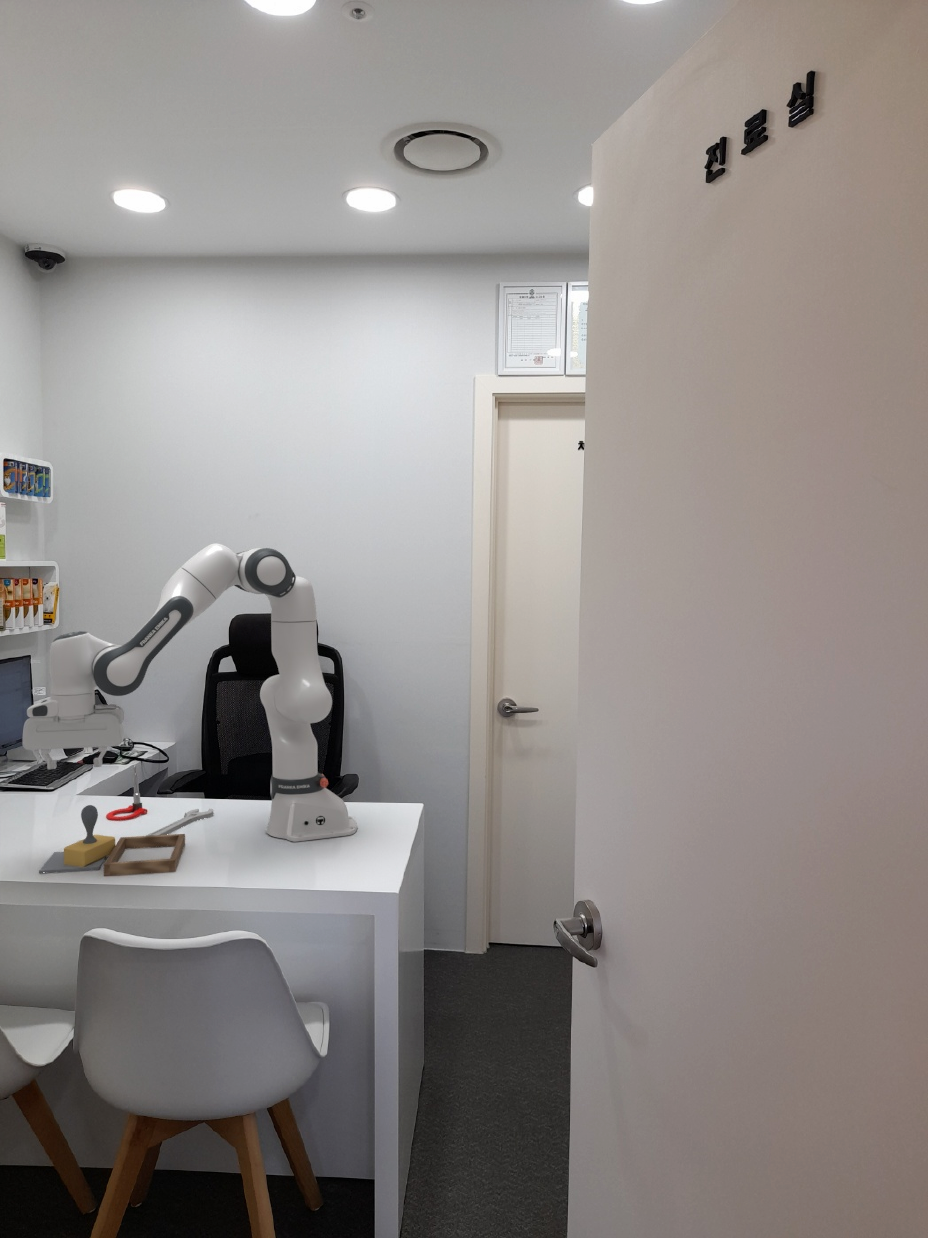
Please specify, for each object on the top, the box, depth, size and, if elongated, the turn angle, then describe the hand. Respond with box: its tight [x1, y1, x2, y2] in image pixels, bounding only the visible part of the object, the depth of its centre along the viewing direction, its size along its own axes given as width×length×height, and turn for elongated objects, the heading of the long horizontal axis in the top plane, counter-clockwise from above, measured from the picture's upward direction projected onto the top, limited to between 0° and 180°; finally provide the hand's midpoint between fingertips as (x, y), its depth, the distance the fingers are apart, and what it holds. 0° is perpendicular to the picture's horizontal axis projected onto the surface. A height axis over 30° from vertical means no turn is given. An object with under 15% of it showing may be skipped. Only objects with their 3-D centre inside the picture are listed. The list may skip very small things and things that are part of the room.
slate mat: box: [38, 851, 108, 874], centre depth 183 cm, size 12×12×1 cm
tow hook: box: [105, 765, 148, 822], centre depth 217 cm, size 8×13×9 cm
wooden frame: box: [103, 833, 186, 877], centre depth 185 cm, size 14×18×2 cm
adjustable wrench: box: [145, 808, 214, 836], centre depth 209 cm, size 25×6×2 cm, turn 160°
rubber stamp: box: [63, 804, 116, 867], centre depth 183 cm, size 10×6×12 cm, turn 163°
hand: (75, 767), depth 182 cm, fingers open, 8 cm apart
